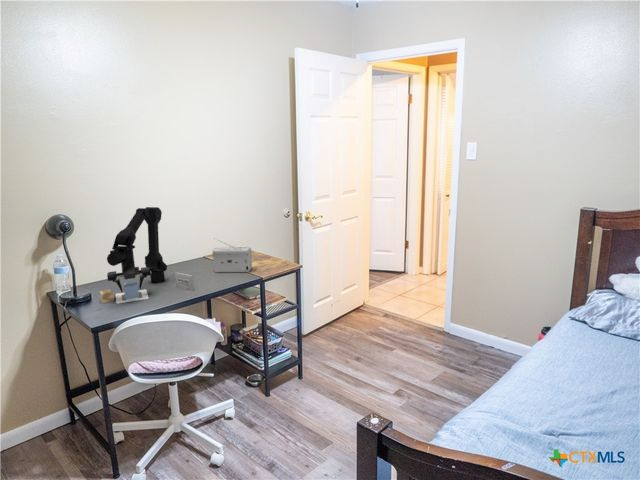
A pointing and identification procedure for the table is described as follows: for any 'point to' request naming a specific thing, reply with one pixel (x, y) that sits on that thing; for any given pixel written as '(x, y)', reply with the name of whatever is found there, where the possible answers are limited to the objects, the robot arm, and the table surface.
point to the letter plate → (121, 298)
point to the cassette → (183, 284)
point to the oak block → (106, 296)
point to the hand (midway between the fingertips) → (131, 290)
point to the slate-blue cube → (131, 290)
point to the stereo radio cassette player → (232, 259)
